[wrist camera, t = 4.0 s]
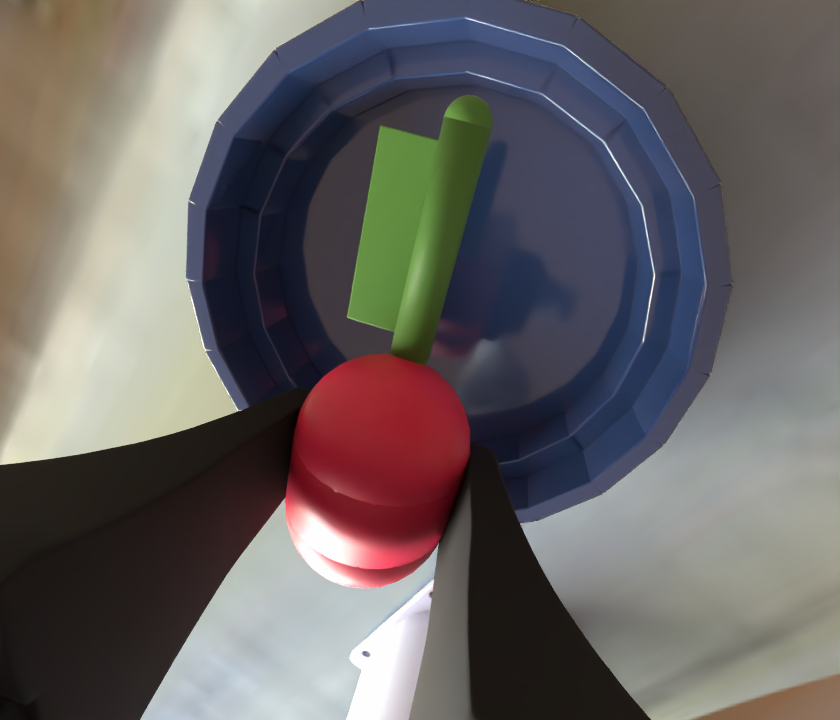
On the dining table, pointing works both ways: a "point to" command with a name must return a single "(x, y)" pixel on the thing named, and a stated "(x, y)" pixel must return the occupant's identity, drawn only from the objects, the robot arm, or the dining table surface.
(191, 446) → the robot arm
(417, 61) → the bowl
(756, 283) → the dining table surface
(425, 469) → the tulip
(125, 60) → the dining table surface
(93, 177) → the dining table surface
